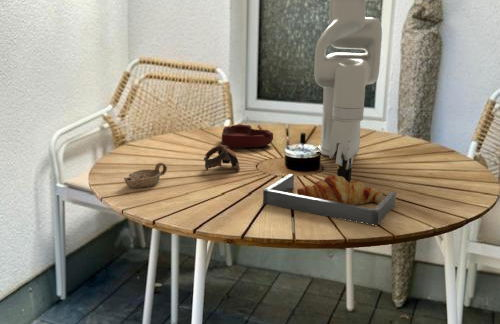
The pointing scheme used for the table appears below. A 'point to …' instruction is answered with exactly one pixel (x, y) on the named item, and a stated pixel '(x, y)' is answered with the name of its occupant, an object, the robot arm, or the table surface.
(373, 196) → the croissant
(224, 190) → the table surface
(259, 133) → the ashtray
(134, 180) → the oil lamp
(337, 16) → the robot arm
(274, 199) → the bent metal bracket
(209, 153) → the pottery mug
